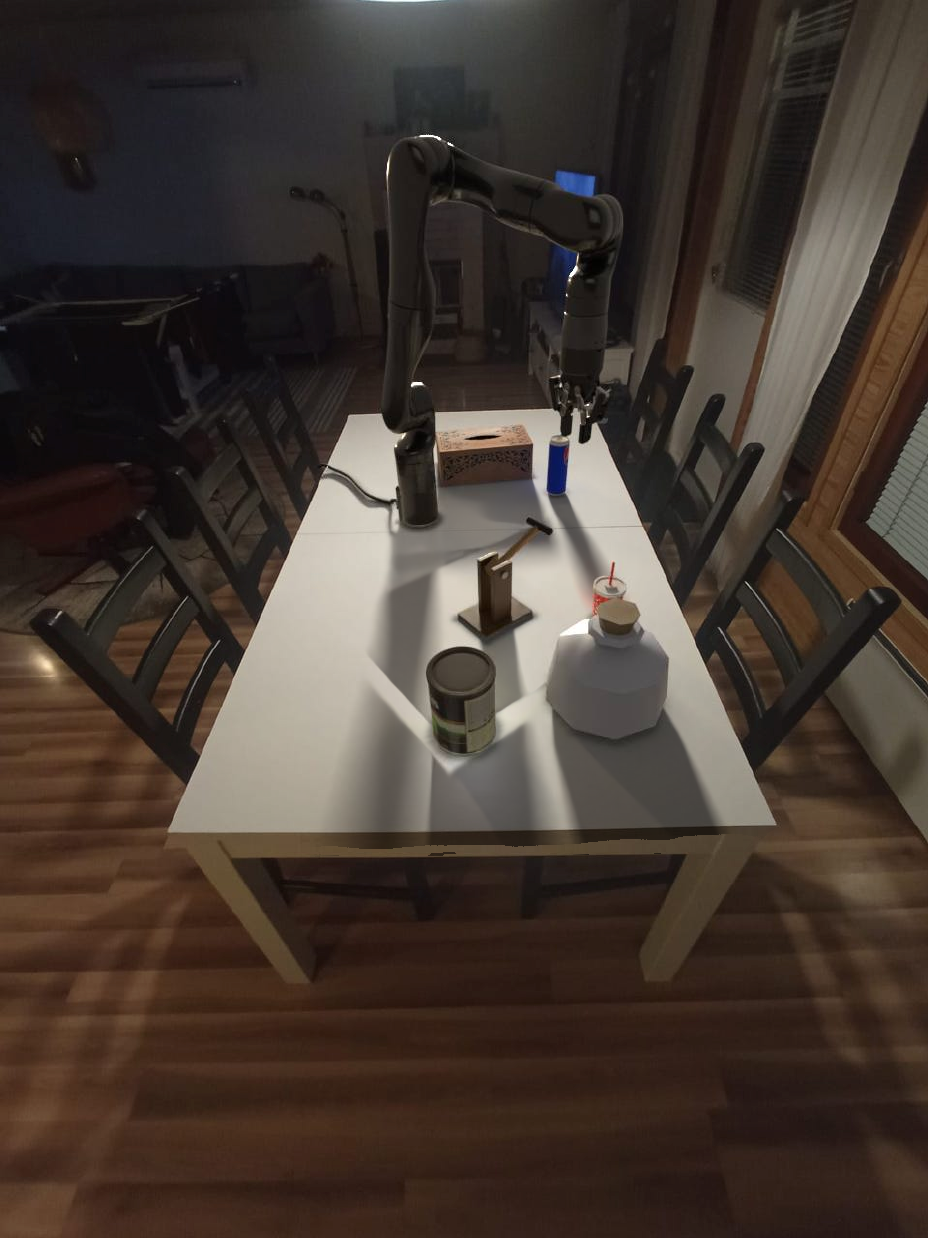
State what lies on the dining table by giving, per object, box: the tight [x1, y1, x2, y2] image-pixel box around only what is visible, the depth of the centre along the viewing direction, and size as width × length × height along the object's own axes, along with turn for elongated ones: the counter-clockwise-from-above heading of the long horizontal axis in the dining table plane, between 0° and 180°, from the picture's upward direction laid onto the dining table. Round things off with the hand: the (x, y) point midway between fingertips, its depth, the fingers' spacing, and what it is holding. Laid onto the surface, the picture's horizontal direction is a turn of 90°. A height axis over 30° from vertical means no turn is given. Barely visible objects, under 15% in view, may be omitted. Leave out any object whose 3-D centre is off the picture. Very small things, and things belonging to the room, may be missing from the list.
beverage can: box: [546, 434, 571, 497], centre depth 147 cm, size 5×5×15 cm
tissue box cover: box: [435, 423, 534, 487], centre depth 160 cm, size 26×14×10 cm, turn 97°
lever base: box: [457, 550, 533, 639], centre depth 108 cm, size 12×9×14 cm
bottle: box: [545, 598, 670, 740], centre depth 89 cm, size 20×20×19 cm
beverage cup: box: [592, 561, 628, 618], centre depth 105 cm, size 6×6×14 cm
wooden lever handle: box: [484, 515, 554, 576], centre depth 105 cm, size 14×6×2 cm, turn 127°
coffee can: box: [425, 645, 497, 757], centre depth 86 cm, size 10×10×14 cm
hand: (574, 438), depth 106 cm, fingers open, 4 cm apart
